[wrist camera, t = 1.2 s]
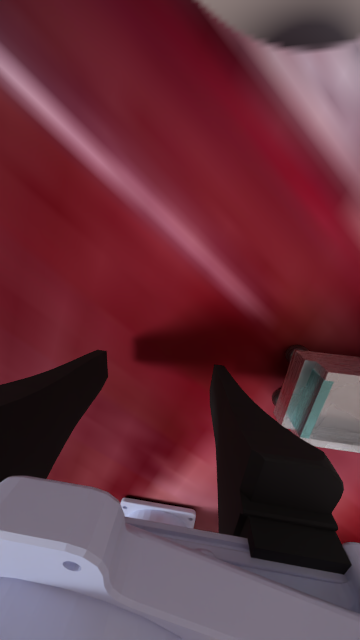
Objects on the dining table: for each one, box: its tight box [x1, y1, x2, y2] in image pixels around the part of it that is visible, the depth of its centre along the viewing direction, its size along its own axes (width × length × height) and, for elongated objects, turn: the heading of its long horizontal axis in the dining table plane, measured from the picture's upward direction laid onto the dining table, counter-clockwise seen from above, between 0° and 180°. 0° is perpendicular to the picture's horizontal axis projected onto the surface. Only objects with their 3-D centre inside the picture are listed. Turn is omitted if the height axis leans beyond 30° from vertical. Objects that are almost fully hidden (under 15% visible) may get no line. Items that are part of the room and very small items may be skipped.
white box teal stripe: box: [272, 345, 360, 453], centre depth 12 cm, size 5×7×4 cm
